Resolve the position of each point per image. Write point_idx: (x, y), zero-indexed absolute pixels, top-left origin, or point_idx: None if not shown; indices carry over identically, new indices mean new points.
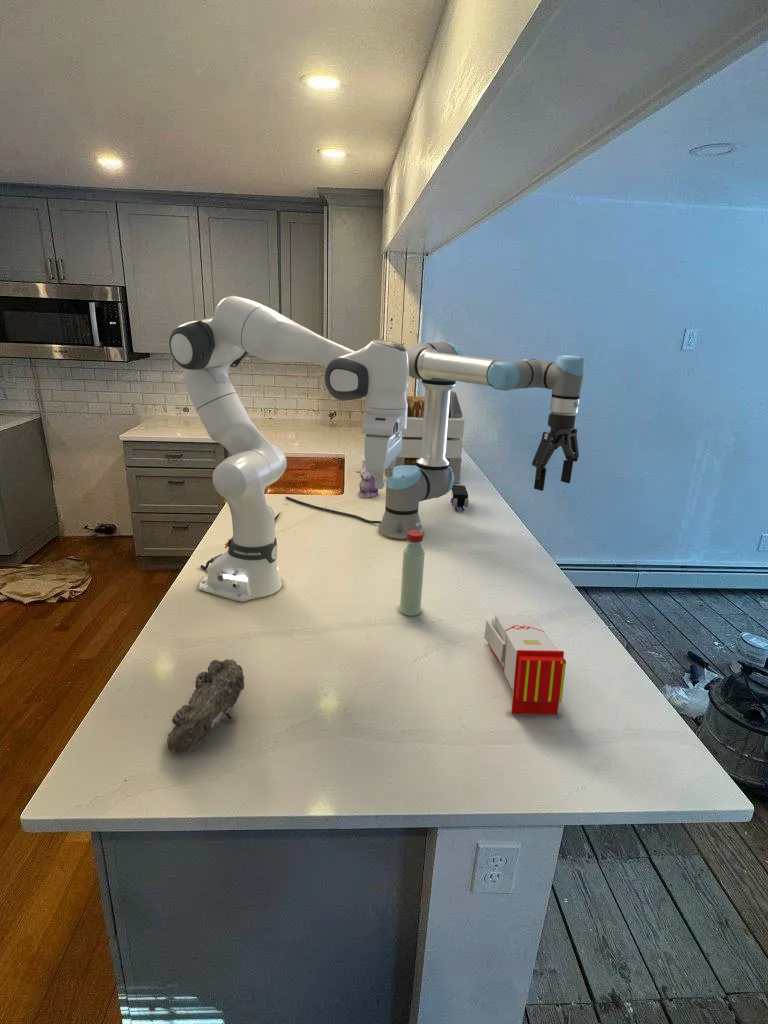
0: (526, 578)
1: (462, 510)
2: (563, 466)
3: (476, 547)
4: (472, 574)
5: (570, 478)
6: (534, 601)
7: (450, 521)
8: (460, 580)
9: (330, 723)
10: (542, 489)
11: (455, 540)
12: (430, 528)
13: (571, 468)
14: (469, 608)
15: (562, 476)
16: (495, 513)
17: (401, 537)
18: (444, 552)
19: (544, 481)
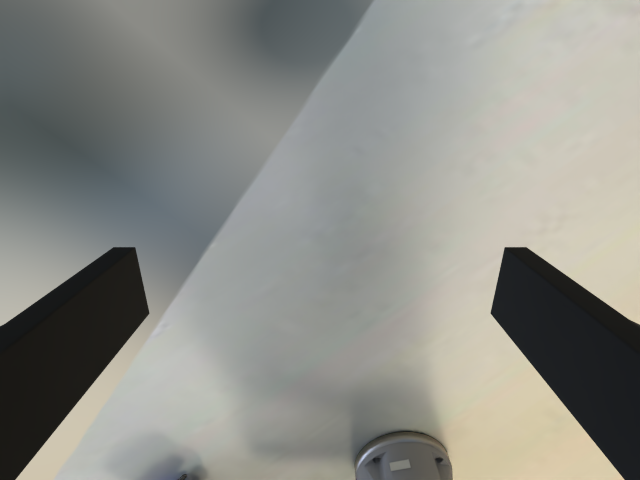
0: (380, 158)
1: (186, 476)
2: (63, 411)
3: (327, 339)
4: (466, 253)
5: (91, 265)
6: (488, 57)
7: (258, 452)
8: None
9: None
10: (526, 252)
11: (336, 386)
12: (329, 449)
13: (22, 325)
14: (637, 141)
15: (125, 330)
16: (118, 434)
17: (437, 445)
18: (412, 359)
19: (556, 285)
